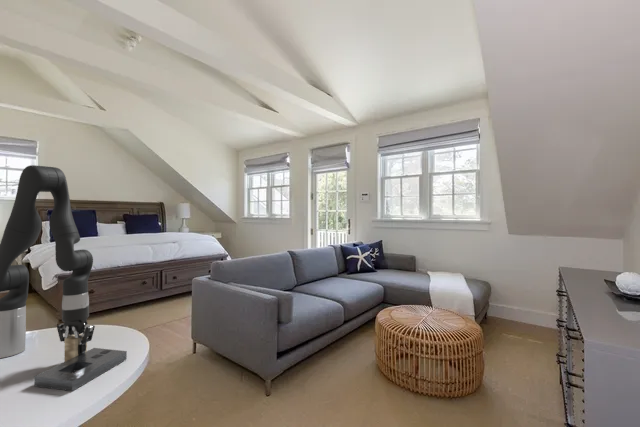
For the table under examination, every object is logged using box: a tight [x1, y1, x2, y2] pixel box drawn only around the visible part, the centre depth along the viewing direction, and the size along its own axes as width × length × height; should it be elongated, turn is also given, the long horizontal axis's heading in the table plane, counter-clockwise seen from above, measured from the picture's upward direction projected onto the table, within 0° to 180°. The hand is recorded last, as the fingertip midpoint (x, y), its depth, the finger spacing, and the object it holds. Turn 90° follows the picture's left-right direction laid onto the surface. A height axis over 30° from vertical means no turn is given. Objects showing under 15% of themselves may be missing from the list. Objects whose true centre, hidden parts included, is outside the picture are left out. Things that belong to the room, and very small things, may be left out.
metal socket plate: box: [33, 347, 128, 392], centre depth 101 cm, size 14×20×3 cm
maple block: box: [63, 333, 88, 362], centre depth 107 cm, size 4×4×9 cm
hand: (75, 353), depth 107 cm, fingers closed on maple block, 4 cm apart
